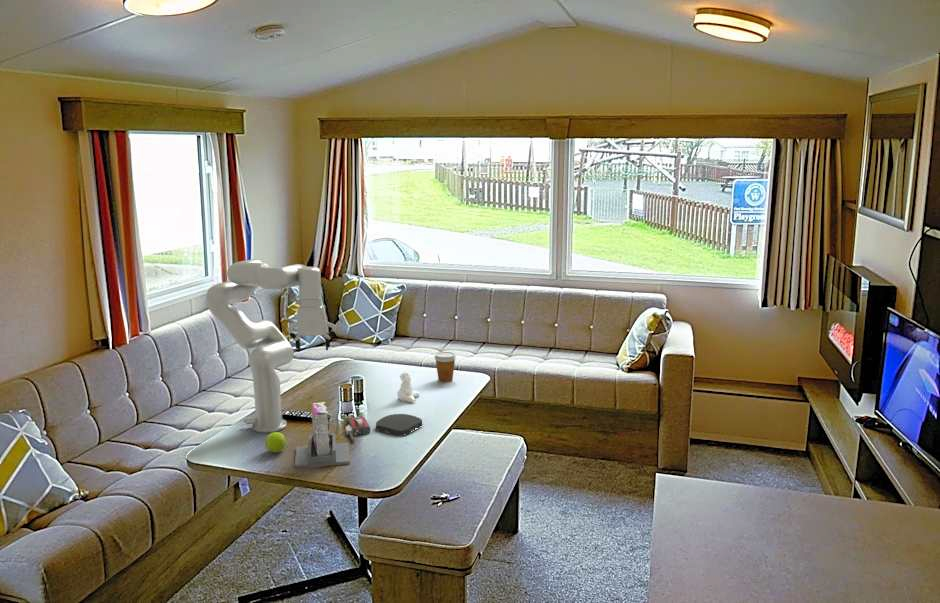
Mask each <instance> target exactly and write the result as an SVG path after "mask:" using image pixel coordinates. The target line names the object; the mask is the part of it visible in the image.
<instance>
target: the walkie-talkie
mask: <svg viewBox="0 0 940 603" xmlns="http://www.w3.org/2000/svg"><path fill="white" fill-rule="evenodd" d="M346 424H347V425H346V426H345V429H344V430H345V434H346V436H347V435H349V437H350V438H349V439H351V441H352V442H354V443H355V441H356V440H355V437H354V436H358V435H357V434H360V435H367V433H368V434H371V426H370V425H369V422H368V420H367V419H366V417H364V416H352V417H349V418H348V419H347V420H346Z"/></svg>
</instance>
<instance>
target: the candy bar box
mask: <svg viewBox="0 0 940 603" xmlns="http://www.w3.org/2000/svg"><path fill="white" fill-rule="evenodd" d="M310 407H311V408H310V409H311V410H310V411H311V425H312V426H311V427H312V435H313V442H314V450H315V453H316V456H327V455H331V454H330V436H329V434H330V424H329V423H330V422H329V411H328V408H327V407H328V406H327V405H326V402H325V401H318V402H312V403H310Z"/></svg>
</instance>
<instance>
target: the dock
mask: <svg viewBox="0 0 940 603" xmlns="http://www.w3.org/2000/svg"><path fill="white" fill-rule="evenodd" d="M329 436H330V454H331V455H327V456H316V453H315V450H314V442H313V434H309V436H308V445H298V446H296V447H295V448H296V450H295V457H294V469H302V468H315V467H327V466H328V465H330V466H342V465H343V464H344V465H350V464H351V461H350V460H351V459H350V458H351V457H350V442H338V443H337V440H336V439H337V438H336V433H329ZM328 467H329V466H328Z"/></svg>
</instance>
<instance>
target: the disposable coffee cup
mask: <svg viewBox="0 0 940 603" xmlns="http://www.w3.org/2000/svg"><path fill="white" fill-rule="evenodd" d="M456 358H457V356H456V354H455V353H454V352H452V351H451V352H450V351H441V352H437V353H435V356H434V359H435V366H436V372H437V379H438V382H440V381H441V382H440V383H450V381H451V382H453V377H454V370H455V362H456Z"/></svg>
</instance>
